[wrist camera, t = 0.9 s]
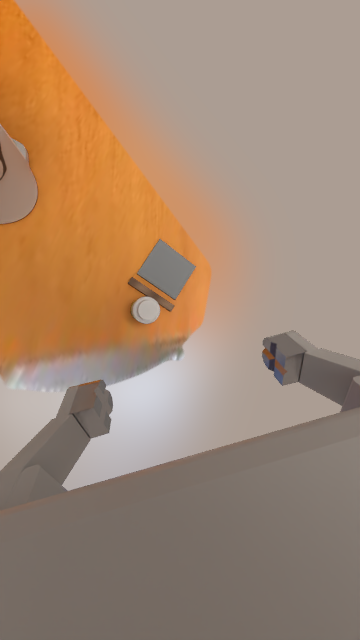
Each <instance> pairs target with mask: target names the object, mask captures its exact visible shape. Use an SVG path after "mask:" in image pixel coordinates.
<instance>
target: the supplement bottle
mask: <svg viewBox="0 0 360 640" xmlns="http://www.w3.org/2000/svg"><path fill="white" fill-rule="evenodd" d="M131 314H132V316H133V318H134V319H136V320H137V321H139V322H141V323H144V324H149V323H152V322H154V321H155V320H156V319H157V318H158V317H159V314H160V306H159V304H158V302H157V301H156V300H155V299H153V298H151V297H141V298H139V299H137V300H135V301H134V302H133V303H132V305H131Z"/></svg>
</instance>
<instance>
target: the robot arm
mask: <svg viewBox="0 0 360 640" xmlns="http://www.w3.org/2000/svg"><path fill="white" fill-rule="evenodd" d="M37 195H38V189H37V183H36V180H35V177H34V175H33V173H32V171H31V169H30V167H29V158H28V152H27V150H26V148H25V147H24V146H23V145H22V144H21V143H20V142H18V141H16V140H14V139H12V138H11V137H10V136H9V135H8V134H7V132H6V131H5V129H4V128H3V127H2V125H1V124H0V224H4V223H11V222H15V221H18V220H20V219H22V218H24V217H25V216H26V215H28V214H29V213H30V212H31V210H32V209H33V207H34V206H35V203H36V200H37ZM263 345H264V347H265V349H264V350H263V352H262V357H263V361H264V363H265V365H266V366H267V368H268V369H269V370H272V371H274V376H275V378H276V379H277V380H278V381H279V383H280V384H281V385H282V386H283V385H287V384H291V383H296V382H299V383H301V384H303V385H305V386H306V387H308V388H310V389H312V390H314V391H316V392H317V393H320V394H321V395H323V396H325V397H327V398H329V399H330V400H332V401H334V402H336V403H338V404H340V405H341V406H342V409H341V411H340V413H337V414H334V415H330V416H327V417H323V418H320V419H316V420H313V421H309V422H306V423H303V424H299V425H296V426H292V427H289V428H285V429H282V430H278V431H275V432H271V433H268V434H265V435H261V436H257V437H254V438H251V439H247V440H244V441H241V442H237V443H233V444H230V445H226V446H223V447H219V448H216V449H212V450H209V451H206V452H202V453H199V454H195V455H192V456H188V457H185V458H182V459H178V460H174V461H171V462H168V463H164V464H160V465H157V466H154V467H150V468H147V469H144V470H140V471H136V472H133V473H129V474H126V475H122V476H119V477H115V478H112V479H108V480H105V481H102V482H98V483H95V484H91V485H88V486H84V487H81V488H77V489H74V490H71V491H67V490H66V489H65V488H64V487H63V486H62V484H63V482H64V481H65V479H66V478H67V476H68V474H69V473H70V471H71V470H72V468H73V466H74V465H75V463H76V462H77V460H78V459H79V457H80V456H81V454H82V452H83V451H84V449H85V447H86V446H87V444H88V443H89V441H90V439H91V438H94V437H97V436H101V435H104V434H107V433H109V430H110V423H111V419H110V417H109V414H110V413H111V412H112V408H113V402H112V397H111V394H110V392H109V391H108V390H106V389H105V387H106V384H105V382H104V381H103V380H98V381H93V382H89V383H85V384H81V385H77V386H73V387H70V388H68V389H67V392H66V394H65V396H64V399H63V401H62V404H61V406H60V409H59V411H58V414H57V416H56V418H55V419H52V420H51V421H50V422H49V423H48V424H47V425H46V426H45V427H44V428H43V429H42V430H41V431H40V432H39V433H38V434H37V435H36V436H35V437H34V438H33V439H32V440H31V441H30V442H29V443H28V444H27V445H26V446H25V447H24V448H23V449H22V450H21V451H20V452H19V453H18V454H17V455H16V456H15V457H14V458H13V459H12V460H11V461H10V462H9V463H8V464H7V465H6V466H5V467H4V468H3V469H2V470H1V471H0V640H360V360H359V359H356V358H352V357H349V356H345V355H342V354H339V353H336V352H332V351H329V350H326V349H322V348H321V349H318V348H316V347H315V346H314V345H313V344H311V343H310V342H308V341H307V340H306V339H305V338H304V337H302V336H301V335H300V334H298V333H297V332H296V331H289V332H285V333H282V334H278V335H274V336H271V337H267V338H264V340H263Z"/></svg>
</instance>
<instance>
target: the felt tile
mask: <svg viewBox="0 0 360 640" xmlns="http://www.w3.org/2000/svg"><path fill="white" fill-rule="evenodd" d="M195 267H196V266H194V265H193V264H192V263H190V262H189V261H188V260H187V259H185V258H184V257H183V256H181V255H180V254H179V253H178V252H176V251H175V250H174V249H172V248H171V247H170V246H169V245H167V244H166V243H165V242H163V241H162V240H161V239H159V241H158V243H157V244H156V246H155V247H154V249H153V250H152V252H151V253H150V255H149V256H148V258H147V259H146V261H145V262H144V264H143V265H142V267H141V268H140V270H139V271H138V273H137V274H138V275H139V276H141V277H142V278H144V279H145V280H147V281H148V282H150V283H151V284H152V285H154V286H155V287H157V288H158V289H160V290H161V291H163V292H164V293H166V294H167V295H168V296H170V297H171V298H173V299H174V300H175V299H176V298H177V296H178V295H179V293H180V291H181V290H182V288H183V287H184V285H185V283H186V282H187V280H188V279H189V277H190V275H191V274H192V272H193V270H194V269H195Z"/></svg>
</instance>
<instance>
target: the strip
mask: <svg viewBox="0 0 360 640" xmlns="http://www.w3.org/2000/svg"><path fill="white" fill-rule="evenodd" d="M128 284H129V285H131V286H132V287H134V288H135V289H137V290H138V291H140V292H141V293H143V294H145V295H146V296H148V297H151V298H153V299H155V300H156V301H157V302H158V304H160V305H161V306H163V307H164V308H166V309H167V310H169V311H172V309H173V308H174V305H173V304H171V303H170V302H168V301H167V300H165V299H164V298H162V297H161V296H159V295H158V294H156V293H155V292H153V291H152V290H150V289H149V288H147V287H146V286H144V285H143V284H141V283H140V282H139V281H137V280H136V279H134V278H133V277H132V278H131V279H130V281H129V282H128Z"/></svg>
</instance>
